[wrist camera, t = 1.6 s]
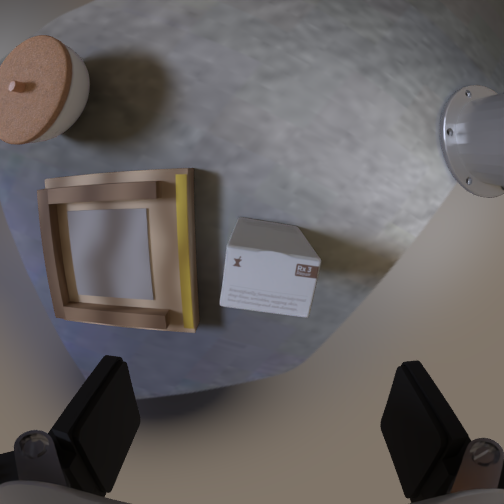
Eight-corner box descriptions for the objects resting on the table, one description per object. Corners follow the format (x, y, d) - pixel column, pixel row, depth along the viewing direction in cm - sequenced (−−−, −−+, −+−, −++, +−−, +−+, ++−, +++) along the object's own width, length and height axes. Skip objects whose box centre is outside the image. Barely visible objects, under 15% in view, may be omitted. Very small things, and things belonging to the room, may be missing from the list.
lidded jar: (118, 114, 29) (68, 102, 20) (44, 161, 30) (-12, 166, 21) (93, 36, 26) (46, 8, 17) (24, 86, 28) (-28, 76, 19)
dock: (193, 167, 30) (183, 168, 26) (199, 321, 34) (192, 340, 30) (57, 177, 31) (36, 180, 27) (74, 310, 35) (57, 325, 31)
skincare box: (232, 257, 32) (213, 311, 21) (238, 213, 31) (221, 244, 19) (293, 267, 32) (308, 325, 21) (302, 223, 31) (323, 259, 19)
